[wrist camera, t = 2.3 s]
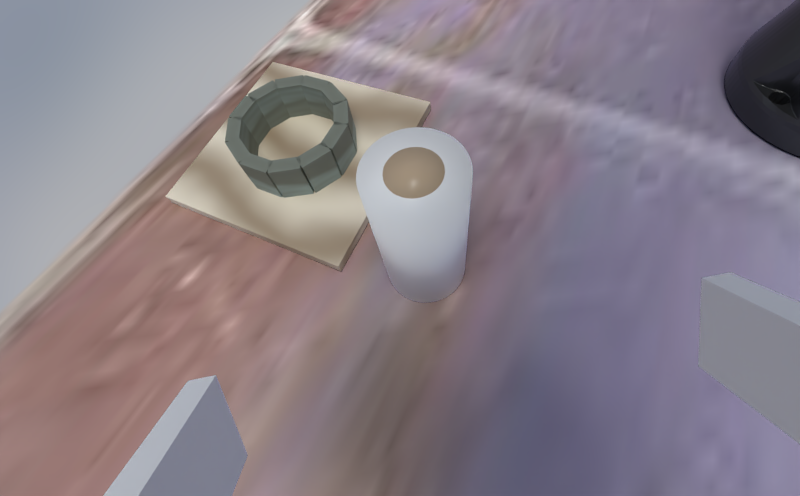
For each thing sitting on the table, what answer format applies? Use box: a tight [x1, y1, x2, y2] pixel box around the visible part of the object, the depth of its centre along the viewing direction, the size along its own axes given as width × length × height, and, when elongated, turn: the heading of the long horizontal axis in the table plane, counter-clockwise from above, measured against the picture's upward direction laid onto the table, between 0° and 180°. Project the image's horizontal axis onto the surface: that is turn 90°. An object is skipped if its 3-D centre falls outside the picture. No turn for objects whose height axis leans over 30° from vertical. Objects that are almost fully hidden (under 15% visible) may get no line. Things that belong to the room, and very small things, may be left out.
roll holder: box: [166, 62, 431, 271], centre depth 36 cm, size 18×18×4 cm
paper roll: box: [356, 127, 473, 303], centre depth 26 cm, size 6×6×12 cm
